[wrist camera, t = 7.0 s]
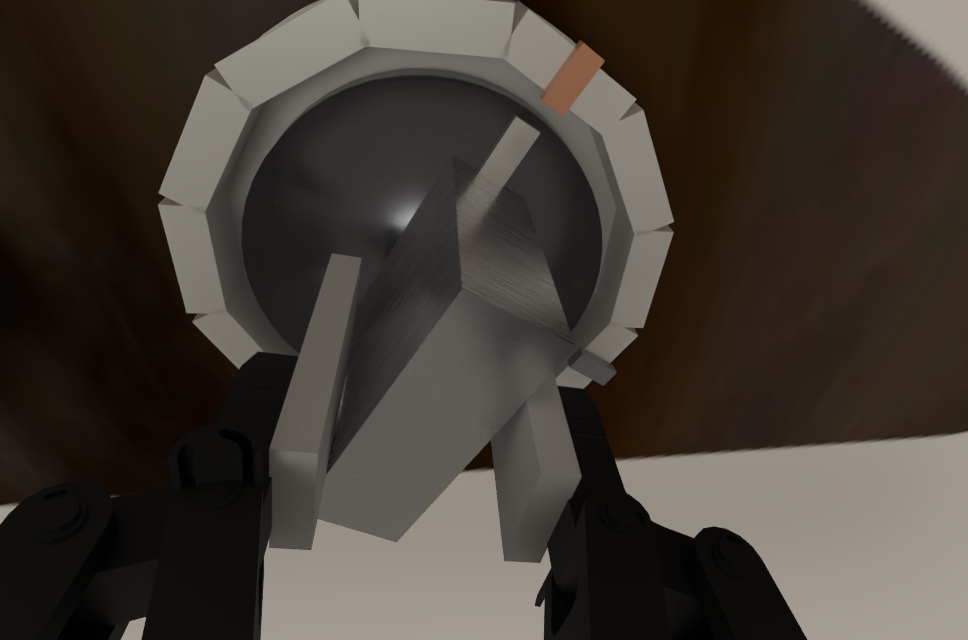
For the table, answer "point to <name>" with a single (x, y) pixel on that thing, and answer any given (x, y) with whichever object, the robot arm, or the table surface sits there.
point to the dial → (424, 272)
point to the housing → (412, 45)
